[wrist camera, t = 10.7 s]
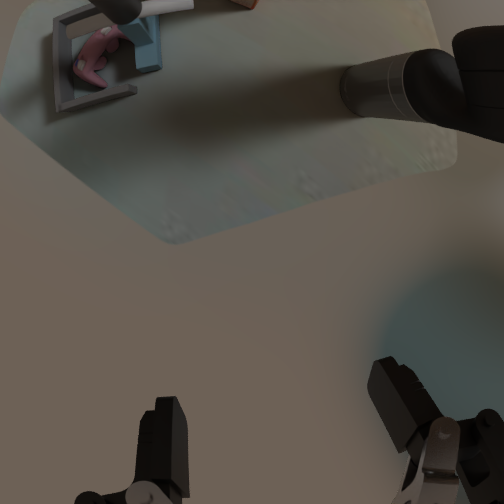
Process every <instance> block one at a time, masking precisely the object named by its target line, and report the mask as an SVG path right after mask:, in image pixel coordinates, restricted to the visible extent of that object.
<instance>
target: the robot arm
mask: <svg viewBox="0 0 504 504" xmlns="http://www.w3.org/2000/svg"><path fill="white" fill-rule="evenodd" d="M452 47H453V53H454V57H455V58H454V57H453V56H451V55H450V54H448V53H446V52H445V51H442V50H439V49H425V50H419V51H414V52H409V53H404V54H400V55H395V56H391V57H386V58H382V59H378V60H374V61H370V62H366V63H362V64H358V65H355V66H352V67H350V68H349V69H347V70H346V71H345V73H344V74H343V76H342V78H341V82H340V92H341V96H342V99H343V101H344V103H345V104H346V106H347V107H348V108H349V109H350V110H351V111H352V112H354V113H355V114H357V115H359V116H363V117H373V118H384V119H395V120H405V121H414V122H423V123H430V124H436V125H438V126H441V127H445V128H450V129H455V130H459V131H462V132H466V133H470V134H473V135H476V136H479V137H483V138H486V139H489V140H492V141H496V142H500V143H504V25H501V26H482V27H475V28H471V29H466V30H464V31H461V32H459V33H457V35H455V37H454V38H453V41H452ZM367 388H368V393H369V395H370V398H371V400H372V401H373V403H374V405H375V407H376V409H377V411H378V413H379V415H380V417H381V419H382V421H383V423H384V425H385V427H386V429H387V431H388V432H389V435H390V437H391V439H392V441H393V443H394V445H395V447H396V449H397V451H398V453H402V452H404V451H406V450H407V451H408V453H409V456H408V459H407V463H406V467H405V470H404V474H403V477H402V480H401V484H400V487H399V490H398V492H397V495H396V497H395V498H394V500H393V501H392V503H391V504H455V500H456V496H457V490H458V486H459V478H460V480H461V482H462V485H463V487H464V489H465V492H466V494H467V496H468V499H469V501H470V503H471V504H504V422H503V420H502V419H501V417H500V415H499V414H498V413H497V412H496V411H494V410H492V409H484V410H482V411H480V412H479V413H478V415H477V416H476V417H475V418H472V419H466V420H461V421H455V420H454V419H452V418H450V417H445V416H443V415H442V413H441V412H440V411H439V409H438V407H437V406H436V404H435V403H434V401H433V400H432V398H431V397H430V395H429V394H428V392H427V391H426V389H424V386H423V385H422V383H421V382H419V379H418V377H417V376H416V375H415V373H414V372H413V371H412V370H411V369H410V368H408V367H407V366H405V365H404V364H403V365H400V366H399V365H398V363H397V362H396V360H395V359H394V358H393V357H391V356H389V357H386V358H383V359H379V360H376V361H374V363H373V366H372V370H371V373H370V377H369V380H368V384H367ZM455 469H456V471H457V474H458V476H459V477H458V476H456V475H455ZM189 497H190V493H189V468H188V428H187V421H186V417H185V415H184V412H183V410H182V408H181V406H180V404H179V402H178V399H177V397H176V396H170V397H157V398H156V403H155V410H152V411H146V412H145V414H144V415H143V417H142V419H141V420H140V426H139V435H138V445H137V455H136V468H135V478H134V481H133V482H132V484H131V485H130V487H128V488H127V489H126V490H124V491H121V492H117V493H112V494H107V495H102V496H101V495H99V494H97V493H95V492H92V491H87V492H83V493H81V494H80V495H78V496H77V498H76V500H75V503H74V504H182V498H189Z"/></svg>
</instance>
